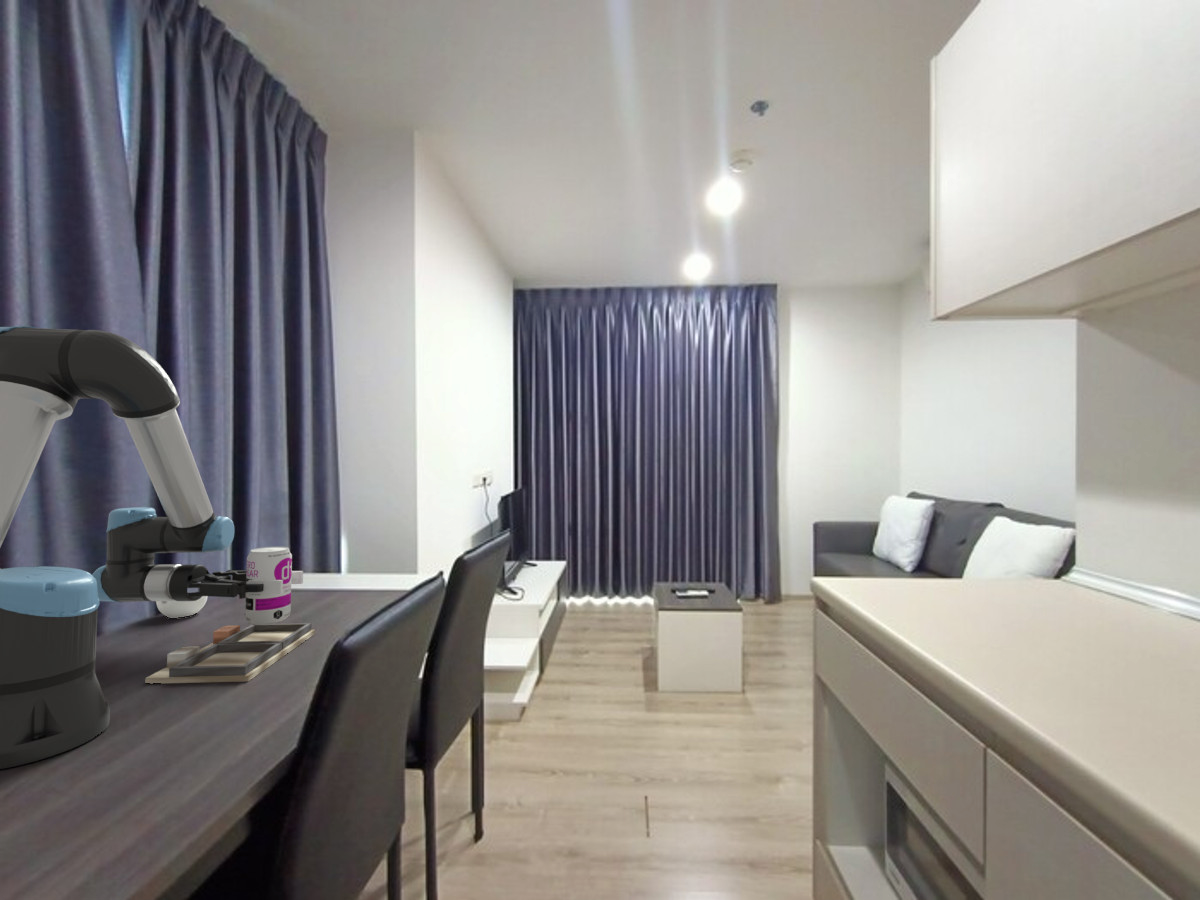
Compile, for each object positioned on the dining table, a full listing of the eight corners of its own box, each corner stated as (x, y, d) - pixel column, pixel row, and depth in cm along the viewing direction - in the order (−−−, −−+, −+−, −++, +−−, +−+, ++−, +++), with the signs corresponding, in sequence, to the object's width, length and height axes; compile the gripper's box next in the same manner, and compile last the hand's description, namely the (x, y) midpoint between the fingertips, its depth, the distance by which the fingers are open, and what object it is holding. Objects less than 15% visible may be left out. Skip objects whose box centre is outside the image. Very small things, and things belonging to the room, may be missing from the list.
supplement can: (299, 614, 116) (300, 546, 116) (272, 626, 108) (273, 553, 108) (264, 613, 117) (266, 545, 117) (235, 624, 108) (237, 552, 109)
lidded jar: (144, 622, 126) (145, 583, 126) (169, 610, 136) (170, 574, 136) (195, 620, 128) (197, 581, 128) (216, 608, 139) (217, 572, 139)
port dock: (248, 681, 93) (248, 661, 93) (145, 683, 91) (145, 663, 91) (315, 633, 119) (315, 618, 119) (235, 635, 117) (236, 619, 117)
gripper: (211, 588, 121) (314, 587, 123) (139, 615, 100) (265, 613, 102) (212, 555, 121) (314, 555, 123) (141, 575, 100) (266, 574, 102)
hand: (292, 581), depth 113 cm, fingers closed on supplement can, 8 cm apart
